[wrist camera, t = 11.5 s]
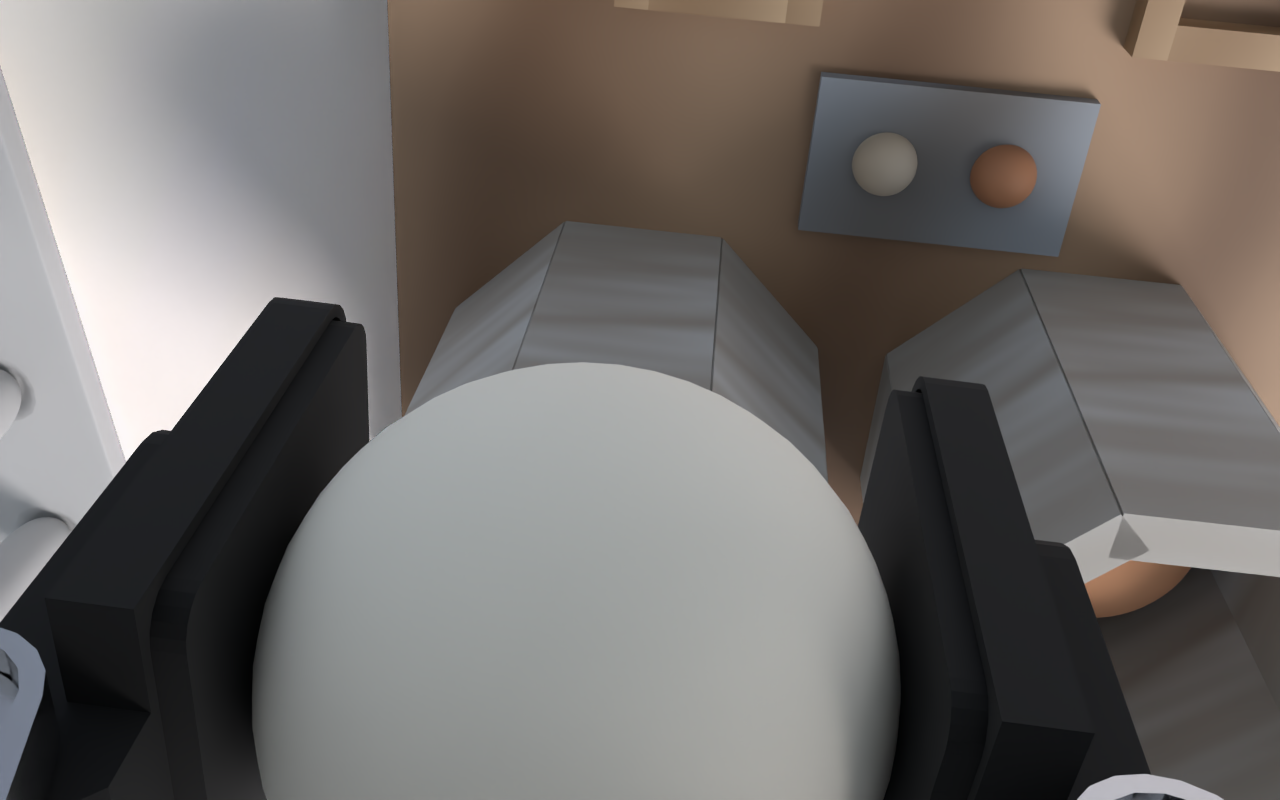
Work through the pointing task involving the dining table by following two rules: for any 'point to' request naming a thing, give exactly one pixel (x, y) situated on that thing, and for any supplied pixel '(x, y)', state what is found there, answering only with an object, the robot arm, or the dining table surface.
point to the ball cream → (577, 608)
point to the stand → (900, 264)
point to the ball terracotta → (1132, 586)
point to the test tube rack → (42, 383)
